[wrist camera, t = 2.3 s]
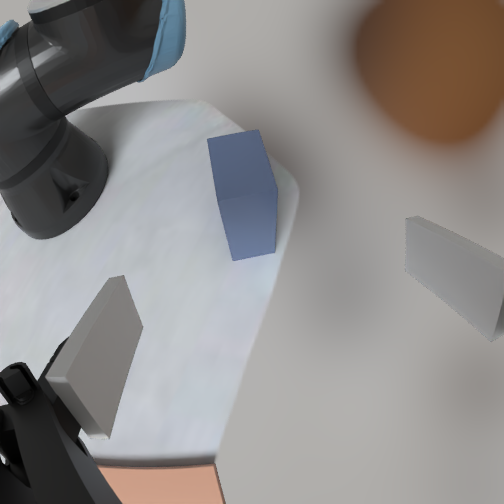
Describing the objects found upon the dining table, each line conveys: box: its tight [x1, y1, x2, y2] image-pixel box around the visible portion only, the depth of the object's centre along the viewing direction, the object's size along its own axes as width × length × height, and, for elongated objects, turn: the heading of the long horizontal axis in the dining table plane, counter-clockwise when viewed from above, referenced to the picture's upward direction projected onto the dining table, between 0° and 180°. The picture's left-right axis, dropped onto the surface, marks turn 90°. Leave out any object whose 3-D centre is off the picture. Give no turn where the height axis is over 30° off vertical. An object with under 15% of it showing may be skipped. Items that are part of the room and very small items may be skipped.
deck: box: [207, 130, 278, 261], centre depth 25 cm, size 6×4×10 cm
